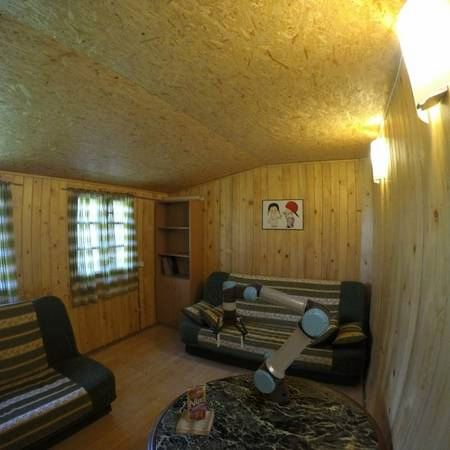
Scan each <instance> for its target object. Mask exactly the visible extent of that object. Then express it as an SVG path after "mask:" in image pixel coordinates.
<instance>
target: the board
mask: <svg viewBox="0 0 450 450" xmlns="http://www.w3.org/2000/svg"><path fill="white" fill-rule="evenodd" d="M214 419H215V411H214V410H212V411H211V410H206V420H199V421H193V422H188V420H187V409H186V408H184V409H183V410H182V414H181V415H180V418H179V420H178V423H177V425H176V427H175V433H176V434H187V435H202V436H210V434H211V430H212V427H213V422H214Z"/></svg>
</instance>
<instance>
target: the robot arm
mask: <svg viewBox="0 0 450 450" xmlns="http://www.w3.org/2000/svg"><path fill="white" fill-rule="evenodd" d="M257 298H258V299H261V300H264V301H267V302H269V303H272V304H274V305H277V306H280V307H282V308H285V309H287V310H290V311H293V312H296V313H299V314H301V315H302V316H301V318H300V319H299V320H298V322H297V323H296V326H297V328H296V329H295V330H294V331H293V332H292V334H290V336H289V337H288V338H287V339H286V341H284V343H283V344H282V345H281V346H280V348H279V349H278V350H277V351H276V352H275V351H274V352H273V351H269V352H265V354H264V356H263V358H264V361H263V362H262V364H261V365H260V366H259V368H258V369H257V370H256V371H255V372H254V374H253V383H254V385H255V387H256V388H257V390H258V391H259V392H261V393H262V394H261V395H262V397H263V399H265V401H269V402H271V403H274V404H275V403H277V404H281V403H284V402H286V401H288V399H289V398H290V391H289V388H288V385H287V383H286V370H287V369H288V368H289V366H290V365H291V364H292V363H294V361H295V360H296V359H297V357H298V356H299V355H300V354H301V353H302V352H303V351H304V349H305V348H307V346H308V345H309V344H310V343H311V342H312V341H313V342H315V341H317V340H318V339H319V338H320V337H321V336H322V335H324V334H325V333H326V332H327V330H328V329H329V325H330V323H331V321H332V313H331V311H330V309H329V307H327V306H326V305H324V304H323V303H321V302H318V301H315V300H312V299H309V298H308V299H303V298H301V297H298V296H294V295H291V294H288V293H286V292H283V291H280V290H276V289H274V288H271V287H267V286H264V285H263V284H262V283H260V282H258V281H253V282H250V283H249V284H247V285H246V284H245V285H244V286H242V285H241V286H240V285H237V283H236V282H235V281H231V280H229V281H224V282H223V283H222V308H223V309H222V311H223V312H222V316H223V317H221V316H218V317H217V322H216V324H215V326H214V329H213V331H212V333H211V334H213V335H215V340H216V341H217V348H219V347H220V332H221V331H222V330H223V329H224V328H225V326H228V327H229V326H231V327H233V326H234V328H236V329H237V331H238V332H239V333H240V334H241V335H240V343H241V345H240V346H241V348H242V349H243V348H244V342H245V340H246V336H247V335H248V333H249V331H248V329H247V328H246V326H245V324H244V321H243V318H242V316H240V317H238V316H237V300H239V301H247V302H254V301H255V300H256V299H257ZM237 321H238V323H239V324H240V325H239V324H238V323H237ZM220 322H223V323H222V324H221V326H220V327H219V328H218V326H219V324H220ZM240 326H241V327H240ZM217 328H218V329H217Z"/></svg>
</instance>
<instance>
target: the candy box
mask: <svg viewBox="0 0 450 450" xmlns="http://www.w3.org/2000/svg"><path fill="white" fill-rule="evenodd" d="M186 394H187V395H186V399H187V401H186V408H187V420H188V422H193V421H199V420H206V411H207V407H206V403H207V401H206V399H207V397H206V396H207V395H206V394H207V393H206V388H205V385H198V384H197V385H191V386H187V387H186Z"/></svg>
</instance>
